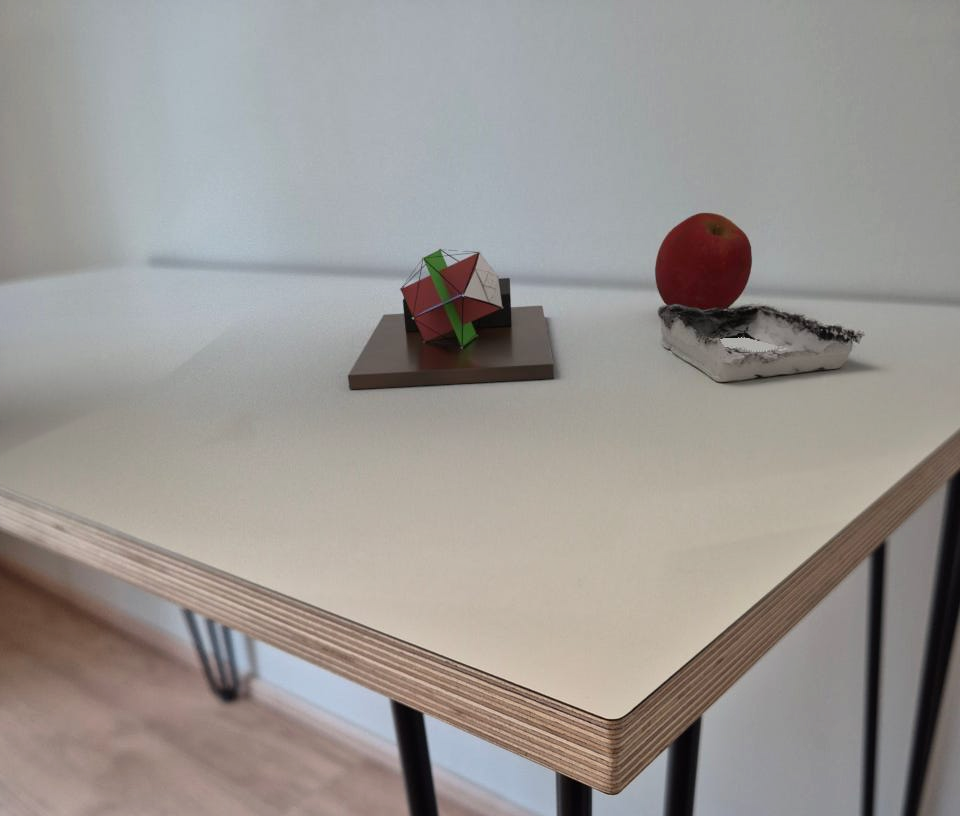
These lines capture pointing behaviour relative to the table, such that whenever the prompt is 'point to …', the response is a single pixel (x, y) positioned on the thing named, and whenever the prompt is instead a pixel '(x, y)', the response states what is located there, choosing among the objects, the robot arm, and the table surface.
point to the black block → (498, 321)
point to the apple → (703, 263)
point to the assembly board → (455, 354)
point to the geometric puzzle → (453, 296)
